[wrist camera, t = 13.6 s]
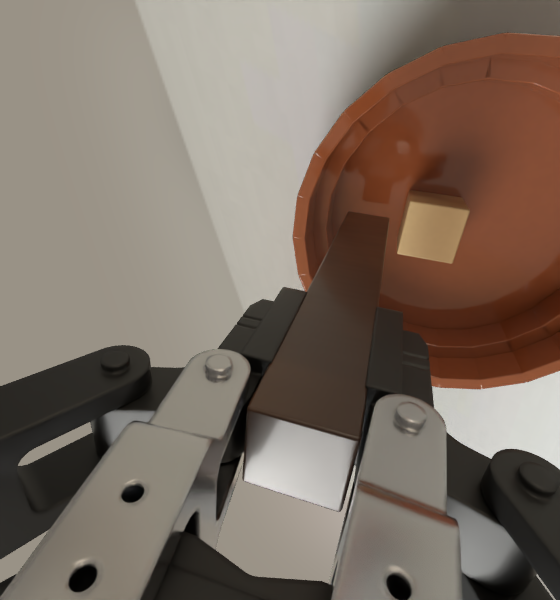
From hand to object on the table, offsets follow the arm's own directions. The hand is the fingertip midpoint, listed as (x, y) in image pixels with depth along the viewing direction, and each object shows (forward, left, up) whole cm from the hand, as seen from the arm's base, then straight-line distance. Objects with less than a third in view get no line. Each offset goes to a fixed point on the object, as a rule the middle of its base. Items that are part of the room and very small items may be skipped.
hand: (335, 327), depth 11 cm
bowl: (+5, 0, -15) cm, 16 cm away
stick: (0, 0, -9) cm, 9 cm away
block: (+3, 0, -15) cm, 15 cm away
